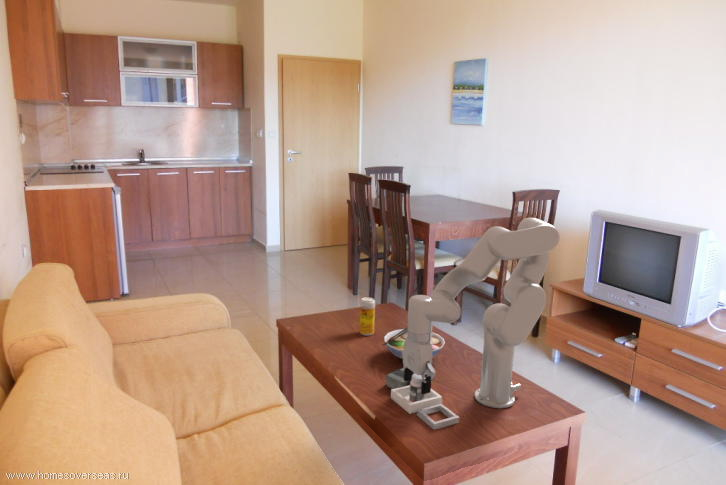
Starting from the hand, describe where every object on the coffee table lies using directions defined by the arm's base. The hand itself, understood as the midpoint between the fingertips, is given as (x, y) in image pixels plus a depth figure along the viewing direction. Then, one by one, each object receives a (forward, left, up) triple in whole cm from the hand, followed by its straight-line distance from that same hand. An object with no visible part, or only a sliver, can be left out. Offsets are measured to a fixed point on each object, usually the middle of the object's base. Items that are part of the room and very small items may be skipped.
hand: (416, 386), depth 174 cm
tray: (0, 0, -5) cm, 5 cm away
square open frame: (0, +12, -5) cm, 13 cm away
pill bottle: (0, 0, -5) cm, 5 cm away
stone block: (-4, -11, -6) cm, 13 cm away
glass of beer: (-14, -57, -5) cm, 59 cm away
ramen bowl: (-18, -28, -5) cm, 34 cm away
